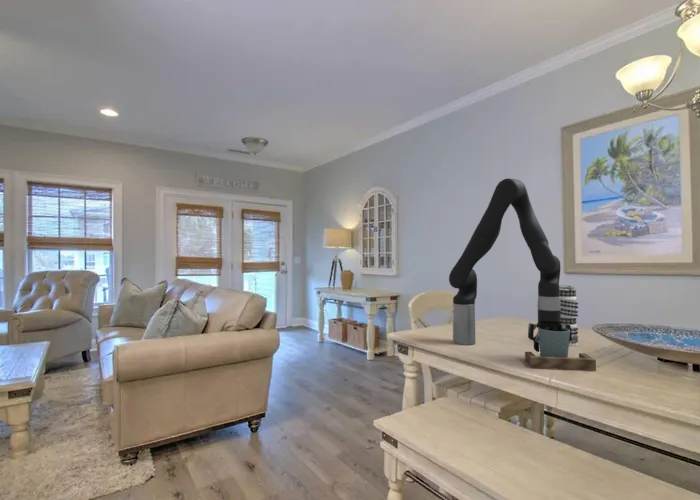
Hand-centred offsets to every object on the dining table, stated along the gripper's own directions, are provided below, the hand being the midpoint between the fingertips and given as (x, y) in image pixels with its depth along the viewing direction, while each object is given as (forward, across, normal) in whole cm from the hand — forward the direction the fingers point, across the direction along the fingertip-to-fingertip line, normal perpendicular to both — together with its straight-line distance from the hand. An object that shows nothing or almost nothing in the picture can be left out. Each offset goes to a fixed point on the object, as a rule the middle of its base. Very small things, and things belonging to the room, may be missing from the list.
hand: (549, 351), depth 137 cm
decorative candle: (+3, +15, +26) cm, 30 cm away
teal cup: (+3, 0, -4) cm, 5 cm away
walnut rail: (+3, 0, -8) cm, 9 cm away
